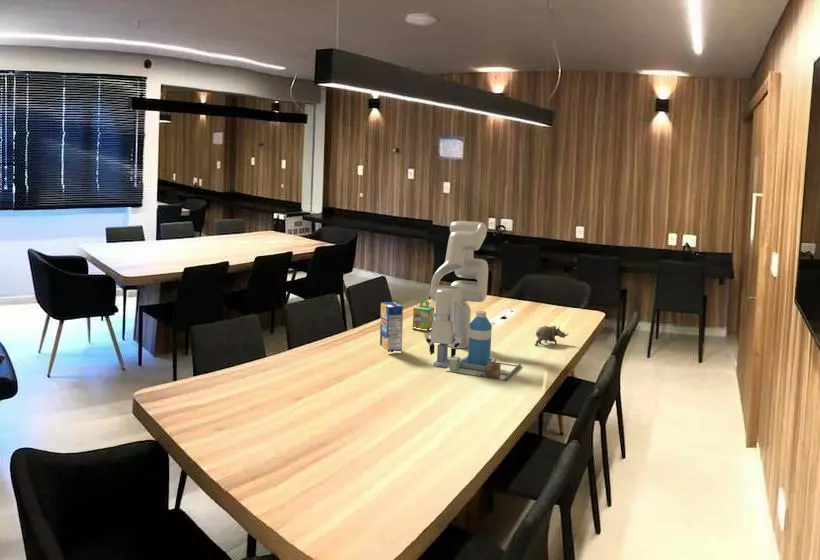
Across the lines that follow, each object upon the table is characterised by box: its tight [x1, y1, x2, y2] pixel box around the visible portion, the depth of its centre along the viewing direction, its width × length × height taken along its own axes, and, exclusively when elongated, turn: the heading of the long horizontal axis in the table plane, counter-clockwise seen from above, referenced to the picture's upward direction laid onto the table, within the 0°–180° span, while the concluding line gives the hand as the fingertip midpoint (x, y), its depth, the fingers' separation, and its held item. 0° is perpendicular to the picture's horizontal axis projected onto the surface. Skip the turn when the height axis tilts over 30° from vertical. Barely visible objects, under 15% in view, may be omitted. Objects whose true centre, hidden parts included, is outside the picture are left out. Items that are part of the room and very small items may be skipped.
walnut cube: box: [486, 361, 502, 378], centre depth 277 cm, size 5×5×5 cm
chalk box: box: [412, 300, 435, 330], centre depth 357 cm, size 9×9×15 cm
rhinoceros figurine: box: [534, 325, 569, 347], centre depth 334 cm, size 8×14×15 cm
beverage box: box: [379, 301, 404, 352], centre depth 313 cm, size 7×11×22 cm, turn 21°
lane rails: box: [445, 357, 522, 382], centre depth 286 cm, size 26×23×2 cm
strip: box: [448, 356, 477, 375], centre depth 282 cm, size 10×6×6 cm, turn 67°
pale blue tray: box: [432, 343, 496, 371], centre depth 293 cm, size 24×13×8 cm, turn 67°
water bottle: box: [467, 310, 493, 366], centre depth 288 cm, size 9×9×25 cm
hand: (442, 355), depth 297 cm, fingers open, 9 cm apart
